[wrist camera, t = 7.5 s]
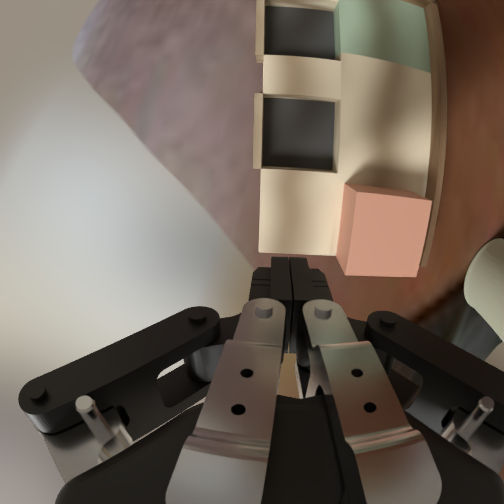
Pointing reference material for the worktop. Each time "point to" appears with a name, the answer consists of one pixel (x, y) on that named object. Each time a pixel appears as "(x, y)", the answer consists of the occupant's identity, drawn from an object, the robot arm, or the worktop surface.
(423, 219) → the salmon pink square block
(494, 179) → the worktop surface
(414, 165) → the board
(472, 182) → the worktop surface
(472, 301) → the can
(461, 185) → the worktop surface
